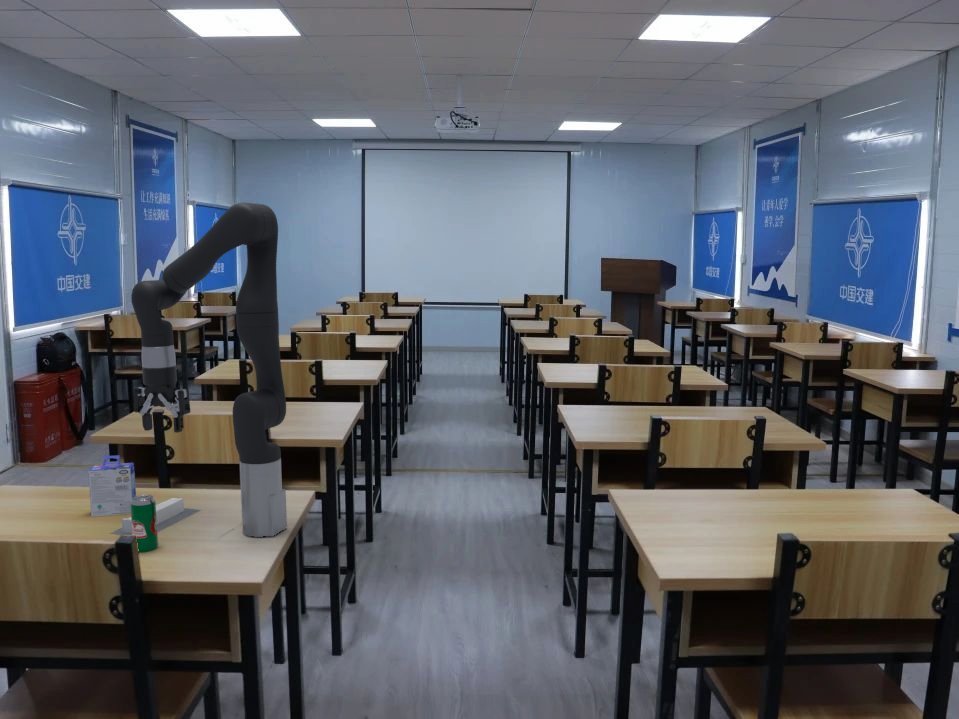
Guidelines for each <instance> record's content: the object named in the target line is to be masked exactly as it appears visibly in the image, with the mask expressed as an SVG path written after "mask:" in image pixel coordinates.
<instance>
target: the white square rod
mask: <svg viewBox="0 0 959 719" xmlns="http://www.w3.org/2000/svg"><path fill="white" fill-rule="evenodd" d="M184 508H185V504H184V498H180V497H179V498H178V497H172V498H169V499H166V500H165V501H163V502H161V503H158V504H156V517H157V524H159V523H161V522H163V521H165V520H167V519H169V518H171V517H173V516H175V515H177V514H179V513H181V512H183V511H184ZM121 528H122V533H129V534H132V523H131V516H130V517H128V518H122V519H121Z"/></svg>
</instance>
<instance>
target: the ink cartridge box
mask: <svg viewBox="0 0 959 719" xmlns="http://www.w3.org/2000/svg"><path fill="white" fill-rule="evenodd" d="M110 459H115V460H116V461H115V460H114V461H107V460H110ZM134 463H135V462H126V463H123V462H122V463H121V459H120V455H119V454H116V455H104V457H103V464H101V465H92V466H91V468H90V469H89V470H88V471H87V474H88V486H89V487H88V488H89V499H90V500H89V502H90V515H91V517H101V516H102V517H105V516H117V515H128V514H130V515H131V508H130V503H131V502H132V498H133V497H135V496H137V493H136V492H137V490H136V488H137V487H136V474H135V464H134Z"/></svg>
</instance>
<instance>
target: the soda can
mask: <svg viewBox="0 0 959 719" xmlns="http://www.w3.org/2000/svg"><path fill="white" fill-rule="evenodd" d="M156 505H157V503H156V499H155V498H154V495H152V494H140V495H136V496H135V497H133V498H132V502H131V503H130V508H131V514H130V517H131V523H132V535H136V536H137V543H138V549H139V552H138V553H147V552H152V551H155V550H156V549H158V548H159V539H158V538H159V537H158V532H157V517H156Z"/></svg>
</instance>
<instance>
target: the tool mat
mask: <svg viewBox="0 0 959 719" xmlns="http://www.w3.org/2000/svg"><path fill="white" fill-rule="evenodd" d="M200 511H201V509H195V508H187V507H184V511H183V512H181V513H179V514H177V515H175V516H173V517H171V518H169V519H167V520H165V521H163V522H161V523H159V524H157V533H159V532H161V531H163V530H165V529H167V528H168V527H171V526H173V525H175V524H177V523H179V522H181V521H182V520H185V519H187V518H189V517H190V516H192V515H194V514H196V513H198V512H200ZM109 534H111V535H119V536H125V535H132V534H129V533H122V527H120V528H118V529H116V530H114V531H112V532H111V531H110V533H109Z"/></svg>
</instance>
